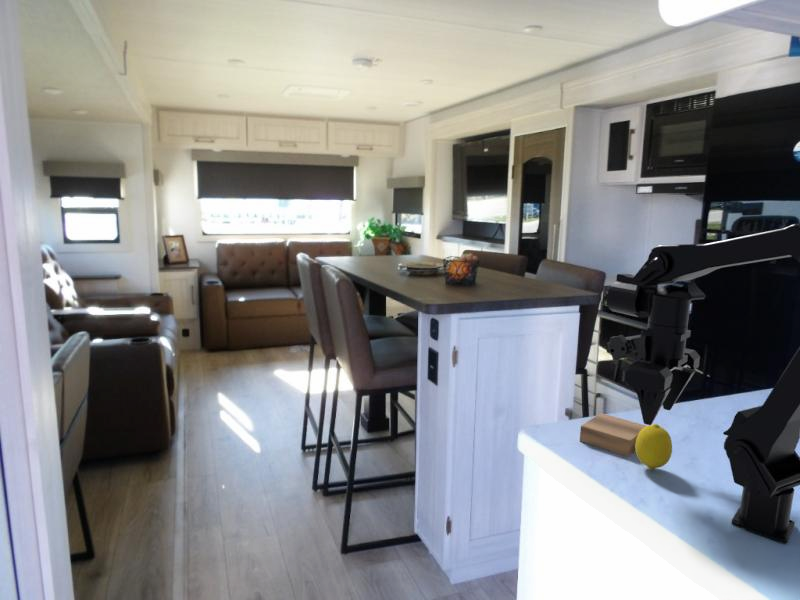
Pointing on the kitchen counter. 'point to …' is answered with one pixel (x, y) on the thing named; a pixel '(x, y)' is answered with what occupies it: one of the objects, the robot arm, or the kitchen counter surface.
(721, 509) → the kitchen counter surface
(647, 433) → the lemon
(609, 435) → the walnut block
